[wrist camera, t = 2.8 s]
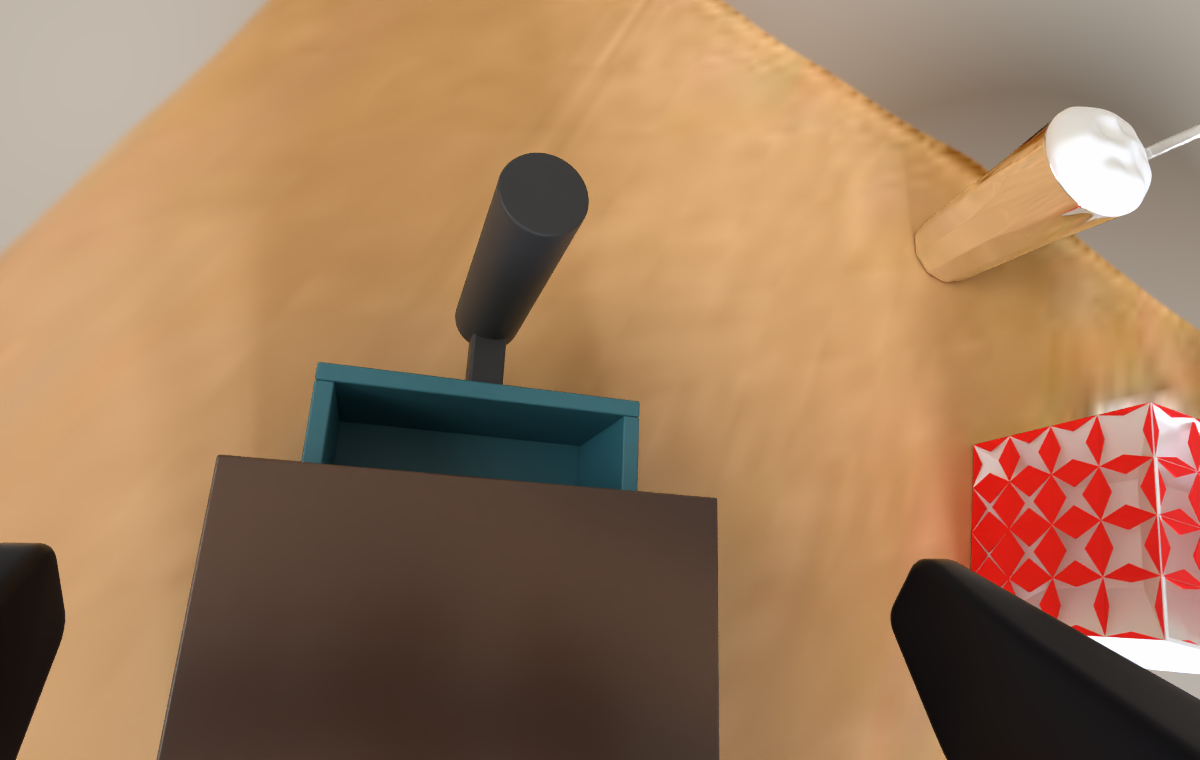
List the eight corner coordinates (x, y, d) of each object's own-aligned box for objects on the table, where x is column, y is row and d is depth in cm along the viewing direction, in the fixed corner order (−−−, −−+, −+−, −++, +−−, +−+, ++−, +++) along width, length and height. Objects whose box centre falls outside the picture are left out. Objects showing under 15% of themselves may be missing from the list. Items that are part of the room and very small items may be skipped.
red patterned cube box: (1111, 489, 34) (1315, 460, 27) (1119, 666, 31) (1347, 688, 24) (972, 444, 32) (1149, 401, 25) (967, 628, 29) (1164, 640, 22)
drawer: (573, 769, 23) (749, 918, 13) (269, 777, 21) (170, 970, 10) (592, 347, 28) (736, 193, 17) (342, 311, 25) (326, 104, 14)
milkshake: (1004, 290, 35) (1229, 184, 26) (919, 300, 33) (1129, 190, 24) (974, 206, 36) (1181, 75, 27) (890, 211, 34) (1081, 73, 25)
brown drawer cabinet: (613, 908, 23) (722, 1048, 16) (182, 943, 19) (79, 1140, 12) (624, 522, 26) (718, 497, 19) (261, 495, 23) (216, 453, 16)
